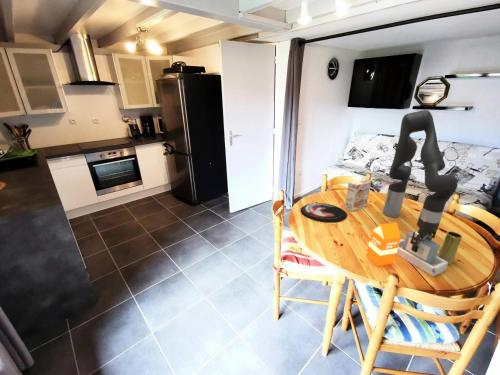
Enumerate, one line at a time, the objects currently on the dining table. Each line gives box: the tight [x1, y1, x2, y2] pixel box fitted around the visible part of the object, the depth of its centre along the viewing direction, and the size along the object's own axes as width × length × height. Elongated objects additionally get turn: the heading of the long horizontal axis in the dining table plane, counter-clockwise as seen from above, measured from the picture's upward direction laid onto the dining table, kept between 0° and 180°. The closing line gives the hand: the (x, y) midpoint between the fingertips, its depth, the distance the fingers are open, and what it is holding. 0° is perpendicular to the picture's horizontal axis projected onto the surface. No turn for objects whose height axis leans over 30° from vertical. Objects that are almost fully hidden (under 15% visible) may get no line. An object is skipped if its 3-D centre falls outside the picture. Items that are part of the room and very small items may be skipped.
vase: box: [437, 231, 463, 265], centre depth 107 cm, size 6×6×14 cm
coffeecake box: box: [343, 178, 372, 213], centre depth 157 cm, size 15×7×20 cm, turn 120°
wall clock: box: [300, 202, 348, 223], centre depth 154 cm, size 27×5×30 cm
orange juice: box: [365, 221, 402, 267], centre depth 106 cm, size 8×9×20 cm
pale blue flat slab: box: [403, 231, 441, 265], centre depth 107 cm, size 4×12×10 cm, turn 25°
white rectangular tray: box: [396, 238, 449, 277], centre depth 109 cm, size 9×20×4 cm, turn 25°
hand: (419, 248), depth 107 cm, fingers open, 8 cm apart
